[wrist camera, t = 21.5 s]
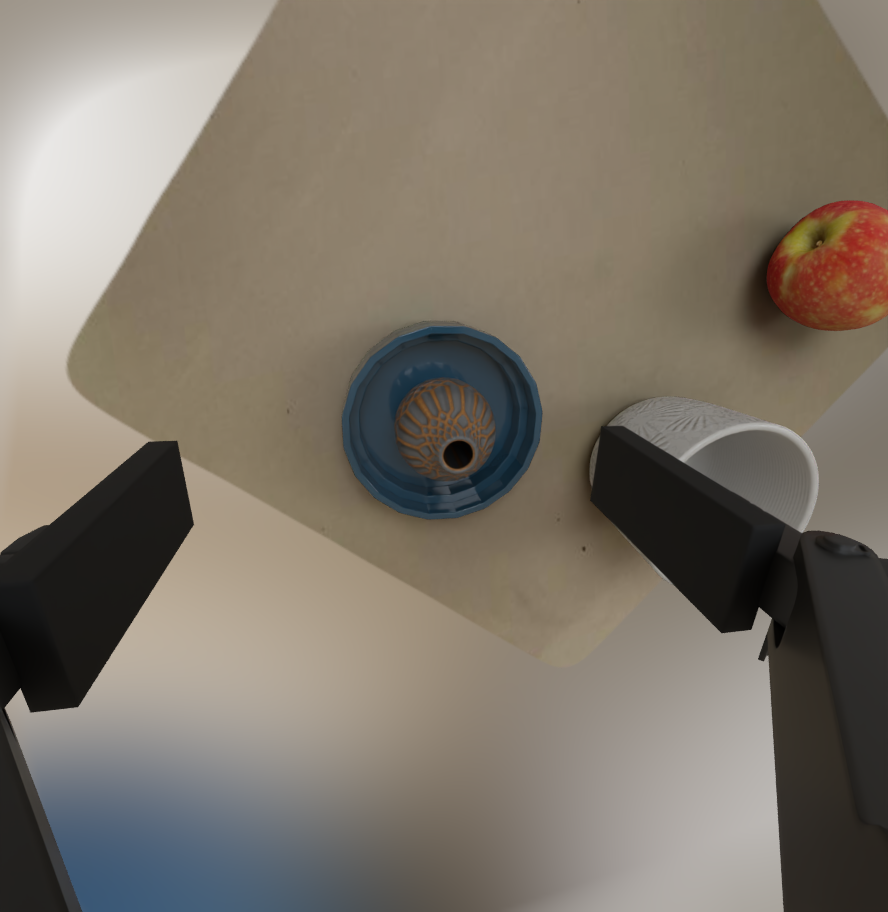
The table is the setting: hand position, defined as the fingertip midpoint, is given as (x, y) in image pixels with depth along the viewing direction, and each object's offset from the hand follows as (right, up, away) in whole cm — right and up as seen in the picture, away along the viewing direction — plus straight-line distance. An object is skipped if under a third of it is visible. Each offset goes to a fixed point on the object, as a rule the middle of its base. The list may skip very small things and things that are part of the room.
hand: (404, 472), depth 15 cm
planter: (+18, +1, +26) cm, 32 cm away
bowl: (+1, +4, +22) cm, 22 cm away
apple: (+29, +15, +22) cm, 39 cm away
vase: (+1, +4, +21) cm, 22 cm away
